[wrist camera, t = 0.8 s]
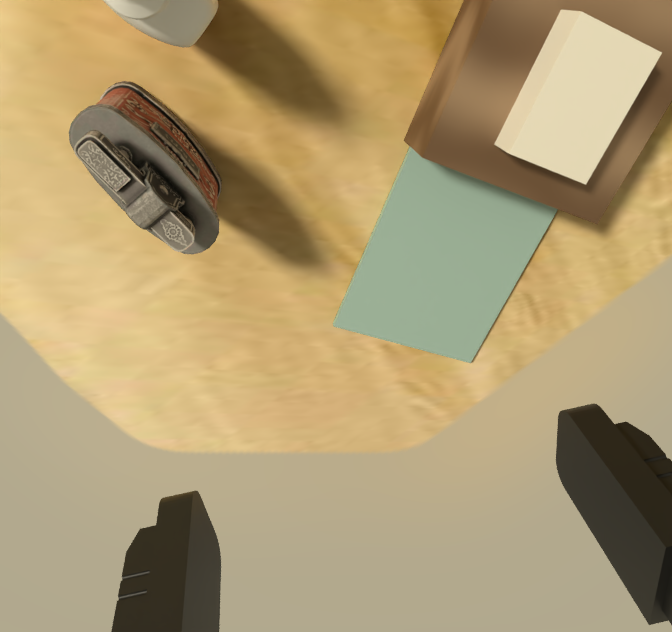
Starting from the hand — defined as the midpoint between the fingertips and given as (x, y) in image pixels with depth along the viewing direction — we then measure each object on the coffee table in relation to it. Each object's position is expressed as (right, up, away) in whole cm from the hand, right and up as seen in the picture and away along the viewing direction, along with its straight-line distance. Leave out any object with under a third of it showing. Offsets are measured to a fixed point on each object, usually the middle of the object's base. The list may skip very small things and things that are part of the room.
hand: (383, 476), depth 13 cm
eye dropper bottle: (-10, +20, +17) cm, 28 cm away
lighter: (-11, +13, +21) cm, 27 cm away
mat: (+6, +7, +27) cm, 29 cm away
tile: (+11, +15, +19) cm, 26 cm away
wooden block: (+11, +19, +21) cm, 30 cm away
